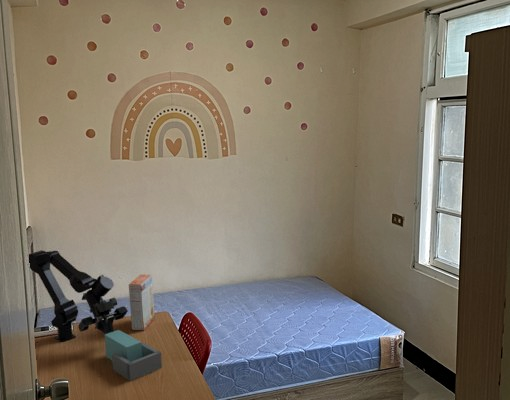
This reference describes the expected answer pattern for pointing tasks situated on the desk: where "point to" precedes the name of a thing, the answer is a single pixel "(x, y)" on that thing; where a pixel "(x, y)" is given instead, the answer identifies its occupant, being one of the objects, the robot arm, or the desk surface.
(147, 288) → the cracker box
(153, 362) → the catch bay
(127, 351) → the teal block
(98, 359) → the desk surface
